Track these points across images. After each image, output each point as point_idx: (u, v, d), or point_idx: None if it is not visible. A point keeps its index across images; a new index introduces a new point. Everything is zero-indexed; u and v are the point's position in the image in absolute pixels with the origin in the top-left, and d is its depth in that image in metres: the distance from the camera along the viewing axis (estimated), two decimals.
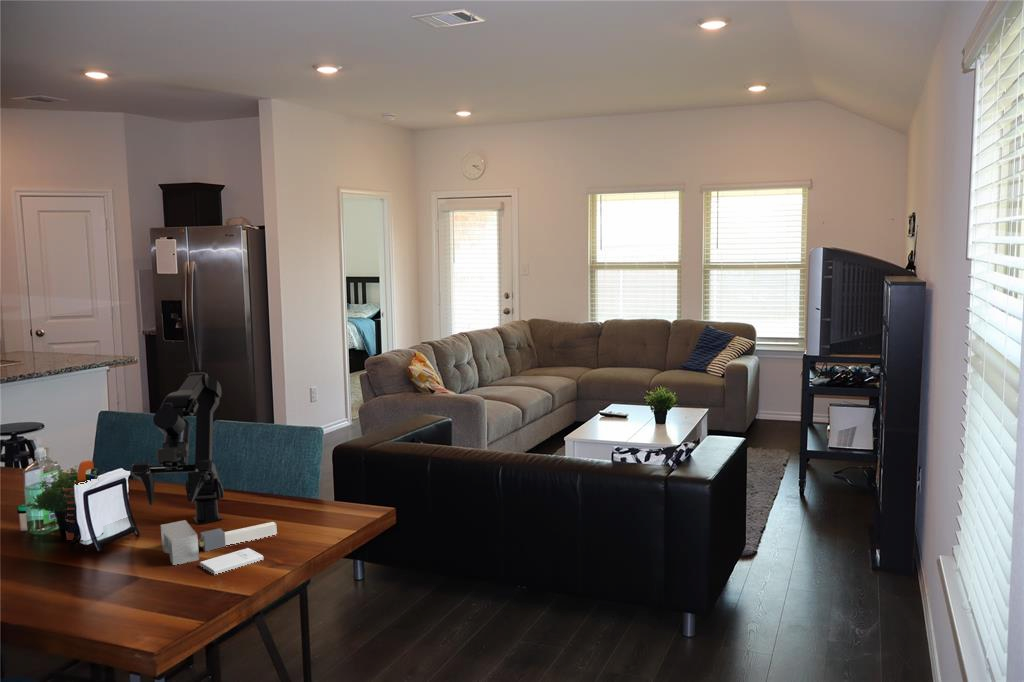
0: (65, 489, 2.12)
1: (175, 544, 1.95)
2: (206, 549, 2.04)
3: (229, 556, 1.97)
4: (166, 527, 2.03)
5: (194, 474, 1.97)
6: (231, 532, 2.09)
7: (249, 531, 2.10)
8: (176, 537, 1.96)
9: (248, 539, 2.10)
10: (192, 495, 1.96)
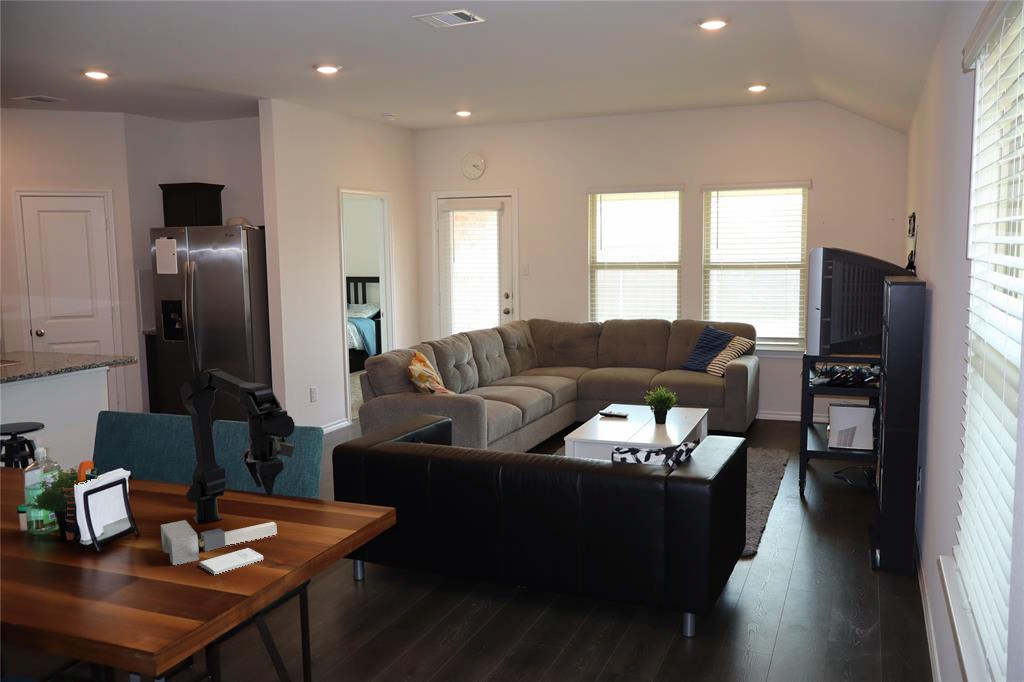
0: (65, 489, 2.12)
1: (175, 544, 1.95)
2: (206, 549, 2.04)
3: (229, 556, 1.97)
4: (166, 527, 2.03)
5: None
6: (231, 532, 2.09)
7: (249, 531, 2.10)
8: (176, 537, 1.96)
9: (248, 539, 2.10)
10: None
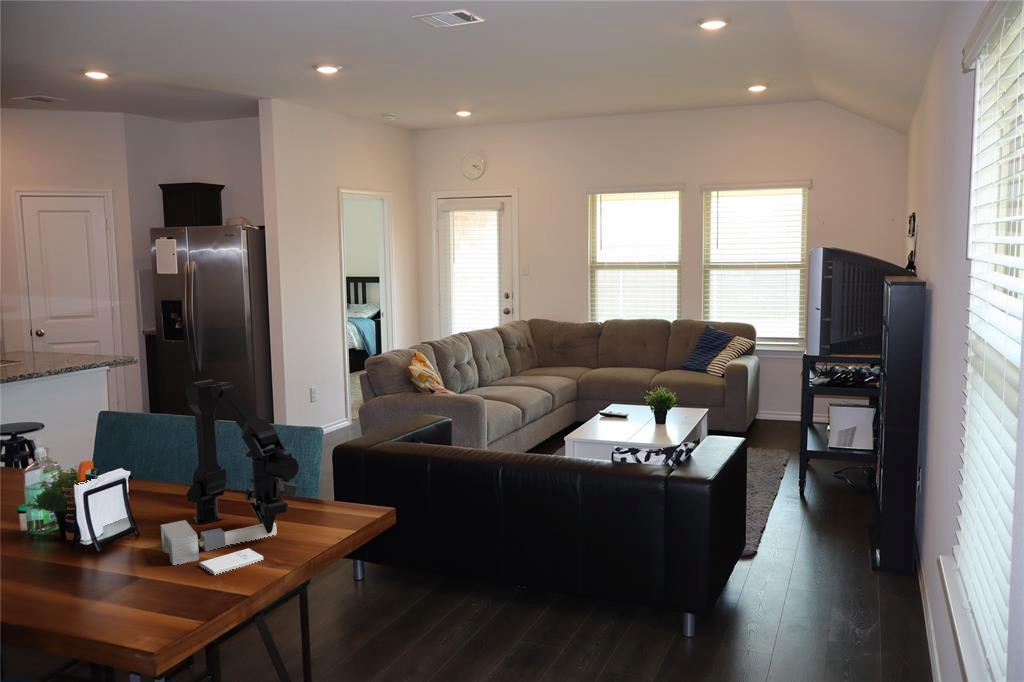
0: (65, 489, 2.12)
1: (175, 544, 1.95)
2: (206, 549, 2.04)
3: (229, 556, 1.97)
4: (166, 527, 2.03)
5: None
6: (231, 532, 2.09)
7: (249, 531, 2.10)
8: (176, 537, 1.96)
9: (248, 539, 2.10)
10: None
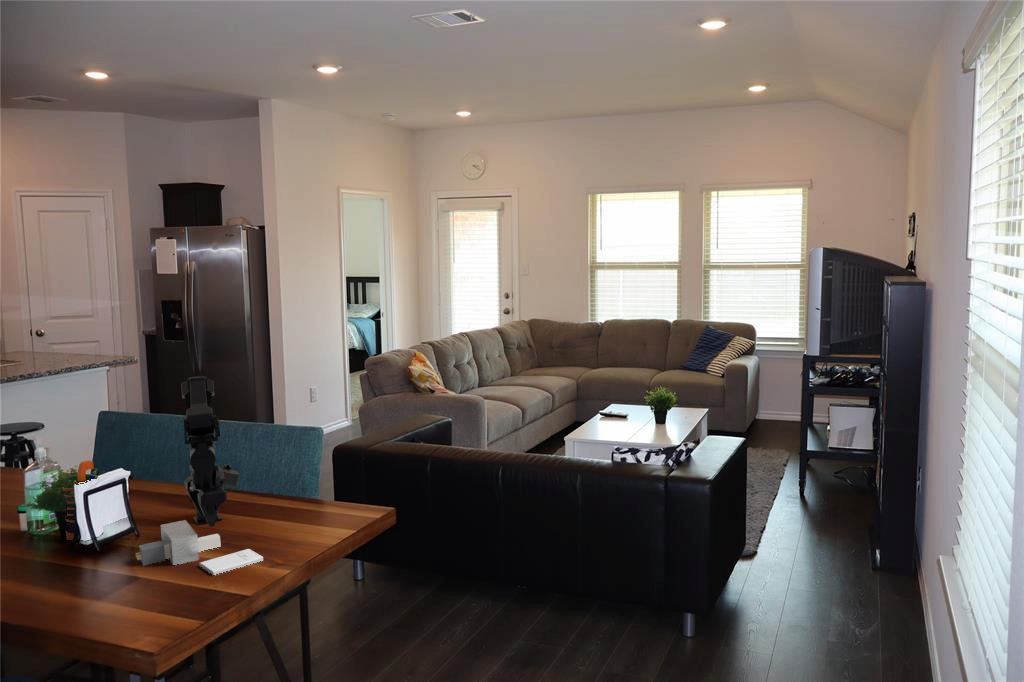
0: (65, 489, 2.12)
1: (175, 544, 1.95)
2: (144, 563, 1.96)
3: (229, 557, 1.97)
4: (166, 527, 2.03)
5: None
6: None
7: None
8: (176, 537, 1.96)
9: None
10: None
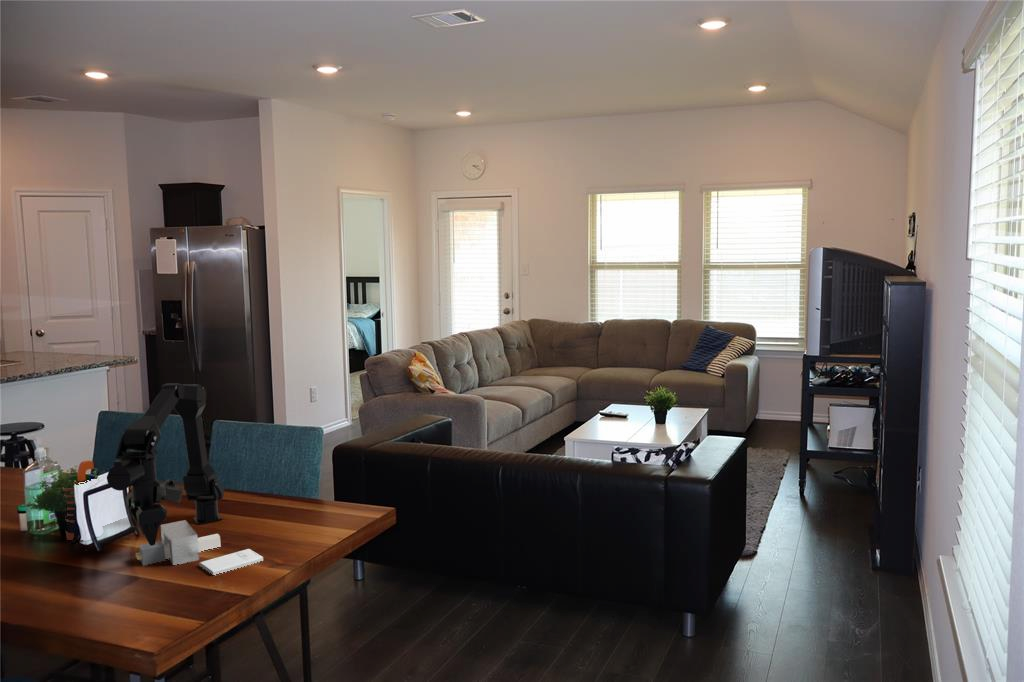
0: (65, 489, 2.12)
1: (175, 544, 1.95)
2: (144, 563, 1.96)
3: (229, 557, 1.97)
4: (166, 527, 2.03)
5: None
6: None
7: None
8: (176, 537, 1.96)
9: None
10: None
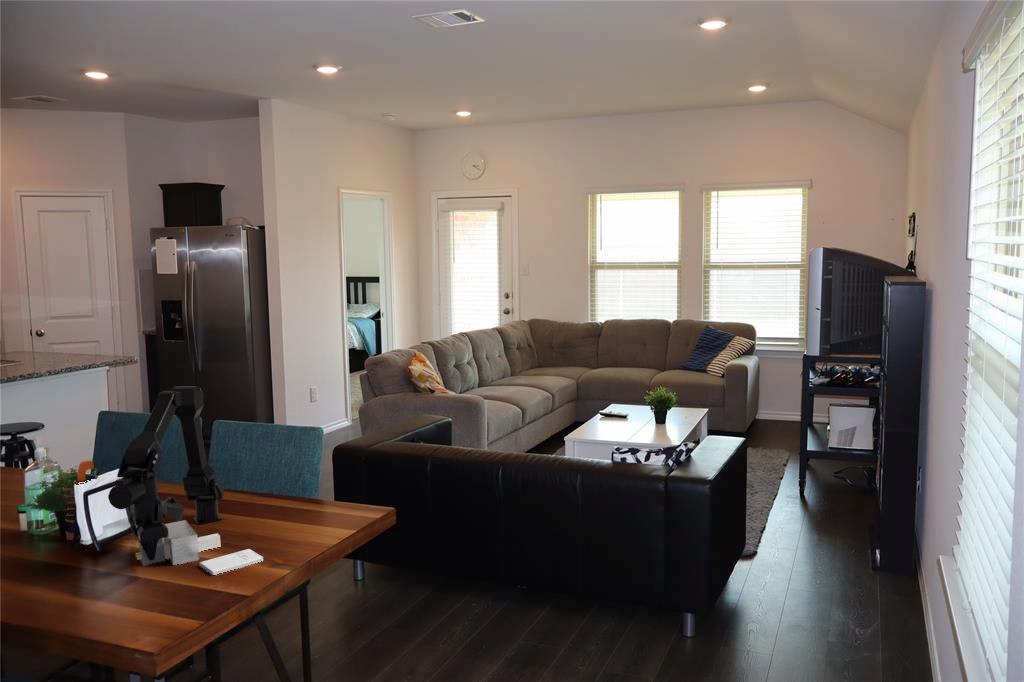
0: (65, 489, 2.12)
1: (175, 544, 1.95)
2: (144, 563, 1.96)
3: (229, 557, 1.97)
4: None
5: None
6: None
7: None
8: (176, 537, 1.96)
9: None
10: None
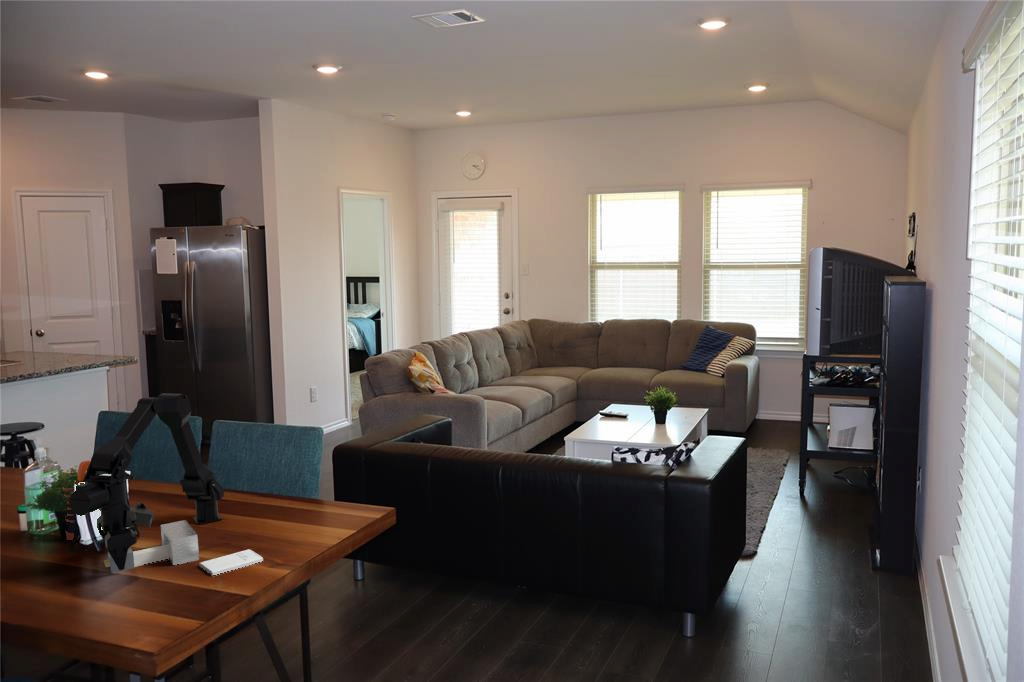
0: (65, 489, 2.12)
1: (175, 544, 1.95)
2: (112, 570, 1.92)
3: (229, 557, 1.97)
4: (166, 527, 2.03)
5: None
6: (141, 551, 1.97)
7: (161, 550, 1.98)
8: (176, 537, 1.96)
9: (160, 559, 1.98)
10: None
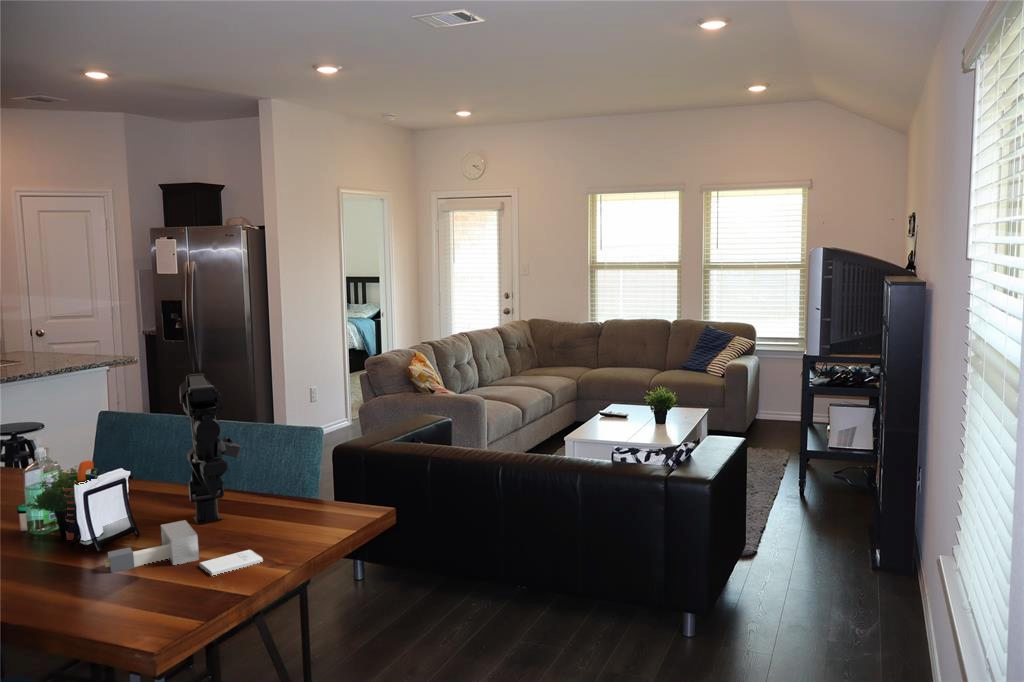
0: (65, 489, 2.12)
1: (175, 544, 1.95)
2: (112, 570, 1.92)
3: (229, 557, 1.97)
4: (166, 527, 2.03)
5: None
6: (141, 551, 1.97)
7: (161, 550, 1.98)
8: (176, 537, 1.96)
9: (160, 559, 1.98)
10: None
